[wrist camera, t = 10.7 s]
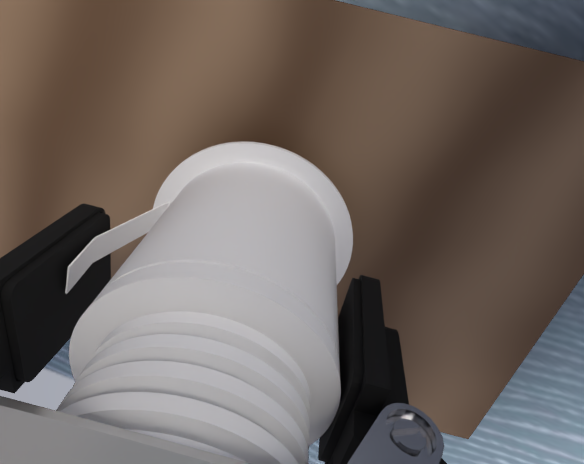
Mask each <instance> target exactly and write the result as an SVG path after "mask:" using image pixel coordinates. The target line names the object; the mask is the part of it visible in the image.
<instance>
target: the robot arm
mask: <svg viewBox="0 0 584 464" xmlns="http://www.w3.org/2000/svg"><path fill="white" fill-rule="evenodd" d="M108 230H110V217H109V215H108V214H106V213H105V210H104V209H103V208H100V207H96V206H92V205H89V204H80V205H79V206H77V207H76V208H74V209H73V210H71V211H70V212H68V213H67V214H65V215H64V216H62V217H61V218H59V219H58V220H56V221H55V222H53V223H52V224H50V225H49V226H47V227H46V228H44V229H43V230H41V231H40V232H38V233H37V234H35V235H34V236H33V237H31V238H30V239H28V240H27V241H25V242H24V243H22V244H21V245H19V246H18V247H16V248H15V249H13V250H12V251H10V252H9V253H7V254H6V255H4V256H3V257H1V258H0V390H4V391H8V392H11V393H15V392H16V391H17V390H18V389H19V388H20V386H21V385H22V384H23V383H24V382H30V381H32V380H33V379H34V378H35V377H36V376H37V374H38V373H39V372H40V371H41V370H42V369H43V368H44V367H45V366H46V364H47V363H48V362H49V361H50V360H51V359H52V358H53V357H54V356H55V354H56V353H57V352H58V351H59V350H60V349H61V348H62V347H63V345H64V344H65V343H66V342H67V341H68V340H69V339H70V338H71V336H72V333H73V330H74V328H75V326H76V324H77V322H78V320H79V319H80V317H81V316H82V315H83V313H84V312H85V311H86V310H87V308H88V307H89V306H90V305H91V303H92V302H93V301H94V300H95V299H96V297H97V296H98V295H99V294H100V292H101V291H102V290H103V289H104V287H105V286H106V285H107V284H108V282H109V281H110V280H111V253H110V254H108V255H106V256H104V257H103V258H101V259H99V260H97V261H95V262H94V263H92V264H91V266H90V267H89V268H88V269H87V270H86V272H85V273H84V274H83V275H82V276H81V278H80V279H79V280H78V281H77V282H76V284H75V285H74V286H73V287H72V289H71V290H70V291H69V292H68V293H67V294H66V293H65V290H66V280H67V270H68V266H69V265H70V264H71V262H72V261H73V260H74V259H75V258H76V257H77V256H78V255H79V254H80V253H81V251H82V250H83V249H84V248H85V247H86V246H87V245H88V244H89V243H90V242H91V240H92V239H93V238H94V237H96V236H98V235H100V234H102V233H104V232H106V231H108ZM338 334H339V361H340V382H341V397H340V404H339V407H338V410H337V412H336V415H335V417H334V420H333V422H332V423H331V425H330V426H329V428H328V429H327V430H326V432H325V433H324V434H323V435H322V436H321V437H320V442H319V454H318V458H319V460H320V461H324V462H325V464H447V463H446V462H445V461H444V460H443V459H442V458H441V457H442V455H443V449H444V443H443V438H442V435H441V433H440V431H439V429H438V427H437V426H436V424H435V423H434V422H433V421H432V419H431V418H430V417H429V416H427V415H426V414H425V413H424V412H423V411H421V410H419V409H417V408H416V407H414V406H411V405H409V401H408V394H407V387H406V380H405V373H404V366H403V359H402V352H401V345H400V339H399V333H398V331H397V330H396V329H392V328H388V327H385V324H384V314H383V305H382V295H381V285H380V280H379V279H376V278H372V277H368V276H364V275H360V277H359V279H356V278H352V280H351V283H350V285H349V288H348V291H347V294H346V297H345V300H344V302H343V305H342V308H341V311H340V314H339V316H338ZM0 464H251V463H247V462H244V461H240V460H236V459H233V458H229V457H225V456H222V455H218V454H214V453H211V452H207V451H203V450H200V449H196V448H192V447H189V446H185V445H182V444H178V443H174V442H171V441H167V440H163V439H160V438H156V437H152V436H148V435H145V434H141V433H137V432H133V431H130V430H126V429H122V428H119V427H115V426H111V425H107V424H104V423H100V422H96V421H93V420H89V419H85V418H81V417H78V416H74V415H70V414H66V413H63V412H59V411H55V410H51V409H47V408H44V407H40V406H36V405H32V404H29V403H24V402H21V401H17V400H13V399H9V398H6V397H1V396H0Z"/></svg>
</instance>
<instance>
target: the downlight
mask: <svg viewBox="0 0 584 464" xmlns="http://www.w3.org/2000/svg"><path fill="white" fill-rule="evenodd" d="M146 233H147V235H146V236H145V237H144V238H143V240H142V241H141V242H140V243H139V245H138V246H137V247H136V248H135V250H134V251H133V252H132V253H131V255H130V256H129V257H128V258H127V260H126V261H125V262H124V263H123V265H122V266H121V267H120V268H119V270H118V271H117V272H116V273H115V275H114V276H113V277H112V278H111V280H110V281H109V282H108V284H107V285H106V286H105V287H104V289H103V290H102V291H101V292H100V294H99V295H98V296H97V297H96V299H95V300H94V301H93V302H92V303H91V305H90V306H89V307H88V308H87V310H86V311H85V312H84V313H83V315H82V316H81V317H80V319H79V320H78V322H77V324H76V326H75V328H74V330H73V333H72V336H71V340H70V345H69V360H70V367H71V371H72V375H73V377H74V380H75V384H74V385H73V388H72V389H71V390H70V391H69V392H68V394H67V395H66V397H65V398H64V400H63V401H62V403H61V404H60V406H59V407H58V409H57V410H56V411H59V412H63V413H66V414H70V415H74V416H78V417H81V418H85V419H89V420H93V421H96V422H100V423H104V424H107V425H111V426H115V427H119V428H122V429H126V430H130V431H133V432H137V433H141V434H145V435H148V436H152V437H156V438H160V439H163V440H167V441H171V442H174V443H178V444H182V445H185V446H189V447H192V448H196V449H200V450H203V451H207V452H211V453H214V454H218V455H222V456H225V457H229V458H233V459H236V460H240V461H244V462H247V463H251V464H308V460H309V454H308V450H309V446H310V445H311V444H313V443H314V442H315V441H316V440H318V439H319V438H320V437H321V436H322V435H323V434H324V433H325V432H326V430H327V429H328V428H329V426H330V425H331V423H332V422H333V420H334V417H335V415H336V412H337V410H338V407H339V404H340V397H341V382H340V361H339V334H338V308H337V285H338V283H339V282H340V280H341V279H342V277H343V276H344V274H345V272H346V270H347V267H348V265H349V262H350V258H351V254H352V247H353V231H352V223H351V219H350V215H349V212H348V209H347V206H346V204H345V202H344V200H343V198H342V196H341V194H340V193H339V191H338V190H337V188H336V187H335V185H334V184H333V183H332V182H331V180H330V179H329V178H328V177H327V176H326V175H325V174H324V173H323V172H322V171H321V170H319V169H318V168H317V167H316V166H315V165H313V164H312V163H310V162H309V161H308V160H306V159H304V158H303V157H301V156H299V155H297V154H295V153H293V152H291V151H289V150H286V149H283V148H280V147H277V146H274V145H270V144H265V143H258V142H243V141H242V142H229V143H223V144H219V145H215V146H211V147H209V148H206V149H203V150H201V151H199V152H197V153H195V154H193V155H191V156H190V157H188V158H187V159H185V160H184V161H183V162H182V163H180V164H179V165H178V166H177V167H176V168H175V169H174V170H173V171H172V172H171V173H170V174H169V176H168V177H167V178H166V180H165V181H164V182H163V184H162V186H161V188H160V189H159V191H158V194H157V196H156V199H155V202H154V206H153V209H152V210H150V211H148V212H146V213H143V214H141V215H139V216H137V217H135V218H133V219H131V220H129V221H127V222H125V223H123V224H121V225H119V226H117V227H115V228H113V229H110V230H108V231H106V232H104V233H102V234H100V235H98V236H96V237H94V238H93V239H92V240H91V242H90V243H89V244H88V245H87V246H86V247H85V248H84V249H83V250H82V251H81V253H80V254H79V255H78V256H77V257H76V258H75V259H74V260H73V261H72V262H71V264H70V265H69V266H68V270H67V280H66V290H65V293H66V294H67V293H68V292H69V291H70V290H71V289H72V287H73V286H74V285H75V284H76V282H77V281H78V280H79V279H80V278H81V276H82V275H83V274H84V273H85V272H86V270H87V269H88V268H89V267H90V266H91V264H92V263H94V262H95V261H97V260H99V259H101V258H103V257H104V256H106V255H108V254H110V253H112V252H113V251H115V250H117V249H119V248H121V247H122V246H124V245H126V244H128V243H130V242H132V241H133V240H135V239H137V238H139V237H141V236H142V235H144V234H146Z"/></svg>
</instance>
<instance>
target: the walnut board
mask: <svg viewBox="0 0 584 464" xmlns="http://www.w3.org/2000/svg"><path fill="white" fill-rule="evenodd" d="M242 141H243V142H258V143H265V144H270V145H274V146H277V147H280V148H283V149H286V150H289V151H291V152H293V153H295V154H297V155H299V156H301V157H303V158H304V159H306V160H308V161H309V162H310V163H312V164H313V165H315V166H316V167H317V168H318V169H319V170H321V171H322V172H323V173H324V174H325V175H326V176H327V177H328V178H329V179H330V180H331V182H332V183H333V184H334V185H335V187H336V188H337V190H338V191H339V193H340V194H341V196H342V198H343V200H344V202H345V204H346V206H347V209H348V212H349V215H350V219H351V223H352V231H353V247H352V254H351V258H350V262H349V265H348V267H347V270H346V272H345V274H344V276H343V277H342V279H341V280H340V282H339V283H338V285H337V308H338V316H339V314H340V311H341V308H342V305H343V302H344V300H345V297H346V294H347V291H348V288H349V285H350V283H351V280H352V278H356V279H359V277H360V275H364V276H368V277H372V278H376V279H379V280H380V285H381V295H382V305H383V314H384V324H385V327H388V328H392V329H396V330H397V331H398V333H399V339H400V345H401V352H402V359H403V366H404V373H405V380H406V387H407V394H408V401H409V405H411V406H414V407H416V408H417V409H419V410H421V411H423V412H424V413H425V414H426V415H427V416H429V417H430V418H431V419H432V421H433V422H434V423H435V424H436V426H437V427H438V429H439V431H440V432H443V433H447V434H450V435H454V436H458V437H462V438H466V439H469V437H470V436H471V435H472V433H473V432H474V430H475V429H476V427H477V426H478V425H479V423H480V422H481V420H482V419H483V417H484V416H485V415H486V413H487V412H488V410H489V409H490V407H491V406H492V405H493V403H494V402H495V400H496V399H497V397H498V396H499V395H500V393H501V392H502V390H503V389H504V387H505V386H506V385H507V383H508V382H509V380H510V379H511V377H512V376H513V375H514V373H515V372H516V370H517V369H518V367H519V366H520V365H521V363H522V362H523V360H524V359H525V357H526V356H527V355H528V353H529V352H530V350H531V349H532V347H533V346H534V345H535V343H536V342H537V340H538V339H539V337H540V336H541V335H542V333H543V332H544V330H545V329H546V327H547V326H548V325H549V323H550V322H551V320H552V319H553V317H554V316H555V315H556V313H557V312H558V310H559V309H560V307H561V306H562V305H563V303H564V302H565V300H566V299H567V297H568V296H569V295H570V293H571V292H572V290H573V289H574V287H575V286H576V285H577V283H578V282H579V280H580V279H581V277H582V276H583V275H584V61H580V60H576V59H572V58H568V57H564V56H560V55H556V54H552V53H548V52H543V51H539V50H535V49H531V48H527V47H523V46H519V45H515V44H511V43H507V42H503V41H499V40H494V39H490V38H486V37H482V36H478V35H474V34H470V33H466V32H462V31H458V30H454V29H450V28H446V27H441V26H437V25H433V24H429V23H425V22H421V21H417V20H413V19H409V18H405V17H401V16H397V15H393V14H388V13H384V12H380V11H376V10H372V9H368V8H364V7H360V6H356V5H352V4H348V3H344V2H340V1H335V0H0V258H1V257H3V256H4V255H6V254H7V253H9V252H10V251H12V250H13V249H15V248H16V247H18V246H19V245H21V244H22V243H24V242H25V241H27V240H28V239H30V238H31V237H33V236H34V235H35V234H37V233H38V232H40V231H41V230H43V229H44V228H46V227H47V226H49V225H50V224H52V223H53V222H55V221H56V220H58V219H59V218H61V217H62V216H64V215H65V214H67V213H68V212H70V211H71V210H73V209H74V208H76V207H77V206H79V205H80V204H89V205H92V206H96V207H100V208H103V209H104V210H105V213H106V214H108V215H109V217H110V229H113V228H115V227H117V226H119V225H121V224H123V223H125V222H127V221H129V220H131V219H133V218H135V217H137V216H139V215H141V214H143V213H146V212H148V211H150V210H152V209H153V206H154V202H155V199H156V196H157V194H158V191H159V189H160V188H161V186H162V184H163V182H164V181H165V180H166V178H167V177H168V176H169V174H170V173H171V172H172V171H173V170H174V169H175V168H176V167H177V166H178V165H179V164H180V163H182V162H183V161H184V160H185V159H187V158H188V157H190V156H191V155H193V154H195V153H197V152H199V151H201V150H203V149H206V148H209V147H211V146H215V145H219V144H223V143H229V142H242ZM146 235H147V233H146V234H144V235H142V236H141V237H139V238H137V239H135V240H133V241H132V242H130V243H128V244H126V245H124V246H122V247H121V248H119V249H117V250H115V251H113V252H112V253H111V278H112V277H113V276H114V275H115V273H116V272H117V271H118V270H119V268H120V267H121V266H122V265H123V263H124V262H125V261H126V260H127V258H128V257H129V256H130V255H131V253H132V252H133V251H134V250H135V248H136V247H137V246H138V245H139V243H140V242H141V241H142V240H143V238H144V237H145V236H146Z"/></svg>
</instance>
